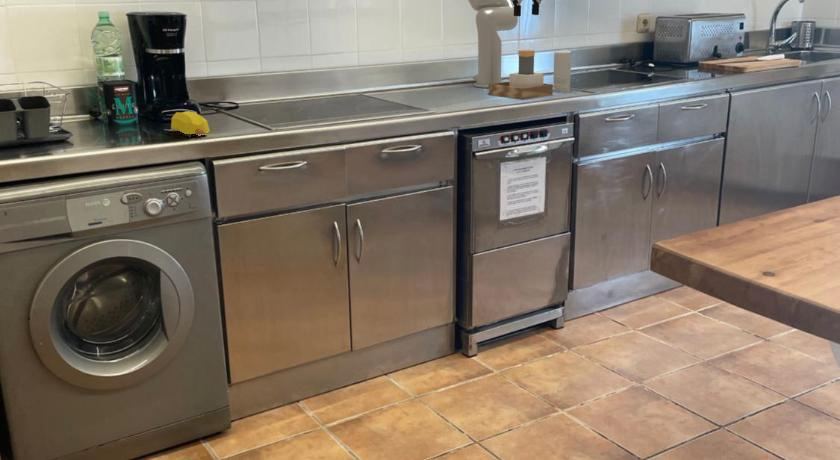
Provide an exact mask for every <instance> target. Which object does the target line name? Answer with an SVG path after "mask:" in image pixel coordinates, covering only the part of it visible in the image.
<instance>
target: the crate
mask: <svg viewBox="0 0 840 460" xmlns="http://www.w3.org/2000/svg"><path fill="white" fill-rule="evenodd" d="M553 93H554V83H552V84H551V83H544V82H543V85H541V86H534V87H527V88H519V87H511V86H509V81H503V82H502V81H501V83H493V84H489V88H488V95H489V96H492V97H501V98H509V99H515V100H521V101H523V100H525V101H526V100H530V99H531V100H532V99H537V98H543V97H550V96H551V97H552V96H553Z"/></svg>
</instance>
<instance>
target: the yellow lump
mask: <svg viewBox="0 0 840 460" xmlns="http://www.w3.org/2000/svg"><path fill="white" fill-rule="evenodd" d="M170 125H171V126H170V129H171V130H173V129H175V130H178V131H180V132H182V133H184V134H197V135H198V134H199V135H200V134H204V133H208V132H209V133H210V130H211V129H210V126H209V123H208V120H207V119H206V118H204V117H203V116H202V115H200V114H198V113H196V112H194V111H189V110H187V111H182V112H178V111H177V112H175V113H174V114H173V115H172V117H171V124H170ZM209 133H208V134H209ZM184 134H183V135H184Z"/></svg>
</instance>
